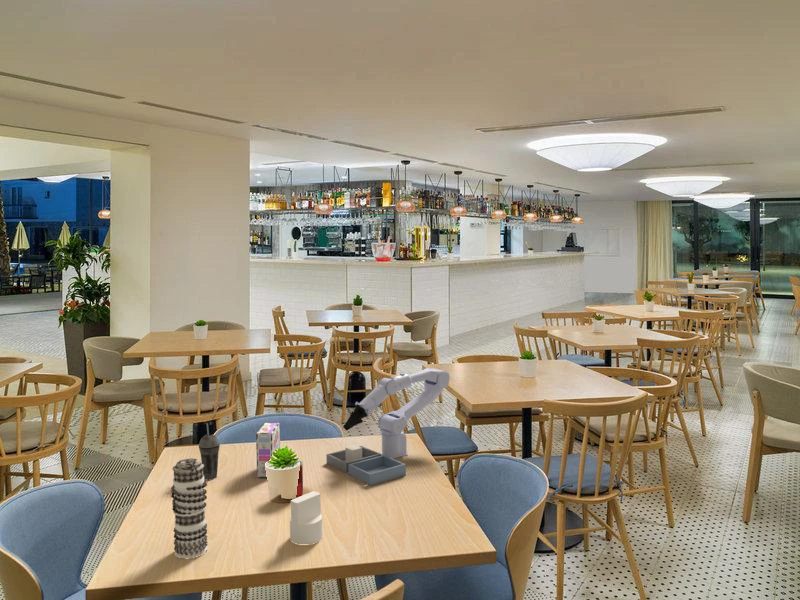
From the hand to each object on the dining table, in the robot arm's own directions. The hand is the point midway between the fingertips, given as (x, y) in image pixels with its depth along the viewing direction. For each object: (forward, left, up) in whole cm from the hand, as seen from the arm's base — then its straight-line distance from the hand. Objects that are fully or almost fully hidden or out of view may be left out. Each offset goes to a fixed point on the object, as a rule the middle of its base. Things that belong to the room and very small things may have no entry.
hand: (346, 426), depth 235 cm
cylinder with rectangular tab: (+42, +40, -16) cm, 60 cm away
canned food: (+30, +10, -16) cm, 35 cm away
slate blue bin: (-3, +14, -16) cm, 21 cm away
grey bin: (-3, 0, -16) cm, 16 cm away
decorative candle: (+70, +28, -16) cm, 76 cm away
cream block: (-3, -1, -15) cm, 15 cm away
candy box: (+25, -14, -16) cm, 33 cm away
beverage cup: (+44, -22, -16) cm, 51 cm away
